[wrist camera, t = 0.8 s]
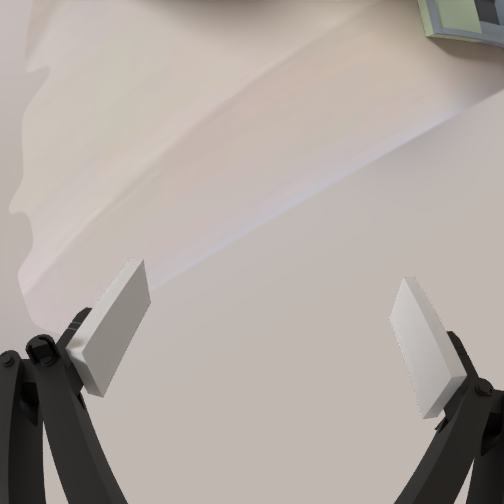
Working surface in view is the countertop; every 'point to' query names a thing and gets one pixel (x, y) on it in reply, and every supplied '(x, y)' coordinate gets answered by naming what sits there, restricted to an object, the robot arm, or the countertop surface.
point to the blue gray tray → (464, 20)
